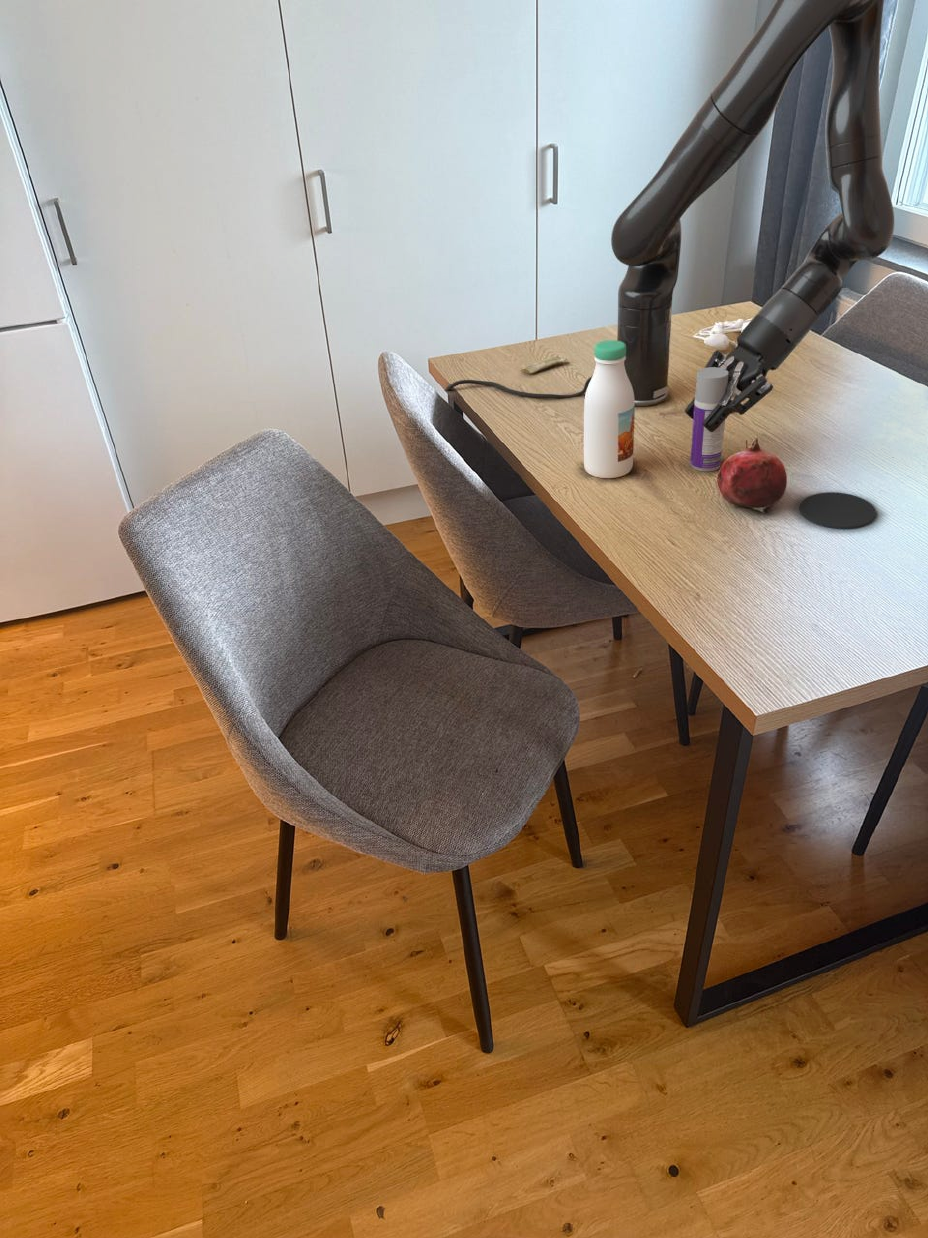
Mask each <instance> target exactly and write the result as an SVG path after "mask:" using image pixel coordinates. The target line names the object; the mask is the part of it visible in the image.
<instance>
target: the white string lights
mask: <svg viewBox="0 0 928 1238" xmlns="http://www.w3.org/2000/svg"><path fill="white" fill-rule="evenodd" d="M753 318H754V317H753ZM753 318H748V319H743V318H739V319H737V320H732V321H728V320H724V322H723V321H715V323H714V325H712V326H708V327H705V328H702V329H699V331H698V332H697V333H695V334H693V338H695V339H699V340H702V341H703V343H704V345H705V346H706V347H709V348H712V349H714V351H717V350H719V351H720V352H722V351H724V350H727V348H728V347H729V344H731V346H734V349H735V348H736V347H737V346H738V343H736V342H735V341H734V340H731V339H730V338H729V337H728V336H727V335H726V334H728V333H729V334H731V333H736V332H740V333H741V332H742V331H743V330H744V329H745V328H746V326H747V325H748V324H749V323H750V322H751V320H752V319H753ZM703 336H705V337H703Z"/></svg>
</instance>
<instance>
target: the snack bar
mask: <svg viewBox="0 0 928 1238" xmlns="http://www.w3.org/2000/svg"><path fill="white" fill-rule="evenodd" d="M567 361H568V358H564V357H562V358H560V357H559V355H556V356H552V357H548V358H546V359H543V360H540V361H536V362H534V363H531V364H528V365H525V366H522V367H521V369H523V370H524V371H525V372H526V374H535V373H537V372H540V371H543V370H546V369H548V368H551V367H553V366H555V365H559V364H562V363H566V362H567Z"/></svg>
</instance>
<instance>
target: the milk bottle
mask: <svg viewBox="0 0 928 1238" xmlns="http://www.w3.org/2000/svg"><path fill="white" fill-rule="evenodd" d="M593 351H594V352H593V353H594V359H593V360H594V361H595V367H594V371H593V374H592V375H591V376H592V379H591V381H590V383H589V385H588V387H587V390H586V392H585V393H584V395H585V396H584V403H583V468H584V470H585V472H586V473H587V474H589V475H591V476H593V477H596V478H601V479H615V478H621V477H623V476H626V475H627V474H629V473H630V472H631V471H632V469H633V467H634V451H635V450H634V448H635V414H636V411H635V407H636V406H635V400H634V392H633V388H632V385H631V383H630V381H629V378H628V376H627V374H626V370H625V366H624V360H625V359H626V357H625V355H626V345H625V343H623V342H621V341H617V339H615V340H613V339H611V340H610V339H608V340H603V341H599V342H597V343H595V345H594V349H593Z"/></svg>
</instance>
